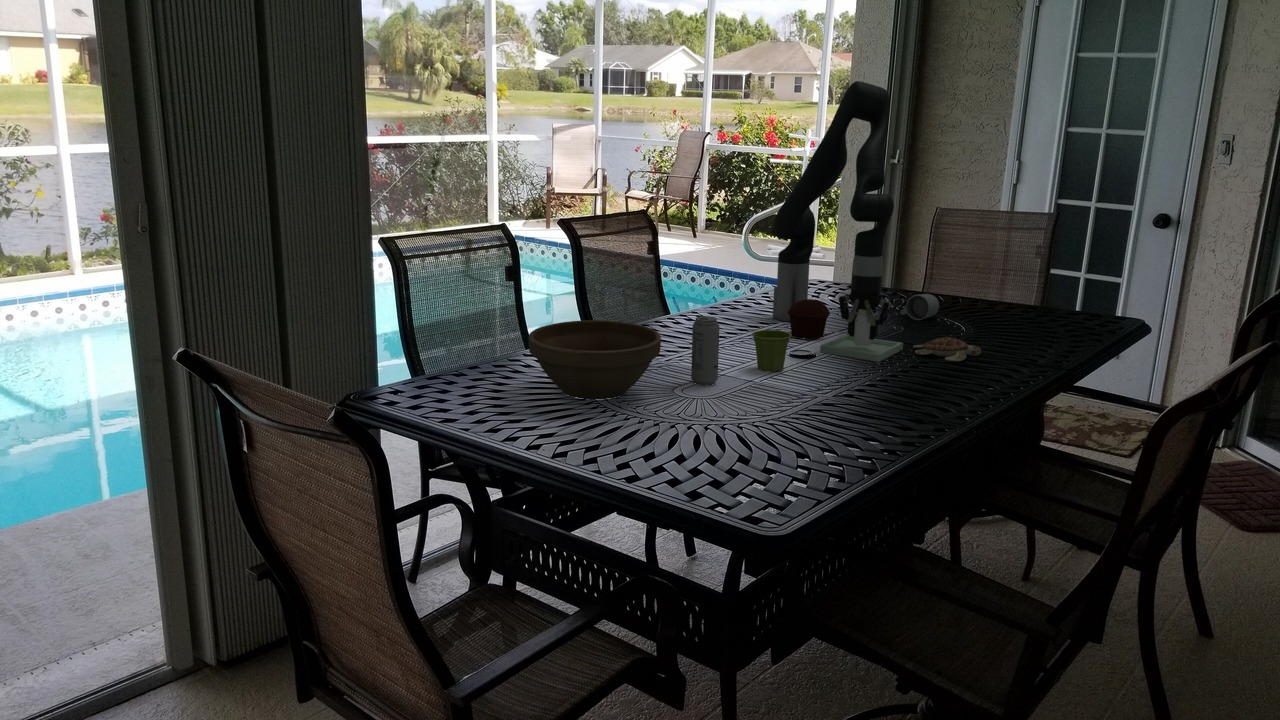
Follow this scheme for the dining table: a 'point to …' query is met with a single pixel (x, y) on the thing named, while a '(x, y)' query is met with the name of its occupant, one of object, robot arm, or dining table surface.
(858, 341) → the pepper shaker
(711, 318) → the energy drink can
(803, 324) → the muffin
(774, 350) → the plant pot
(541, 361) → the flower pot
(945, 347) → the decorative turtle
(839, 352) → the tray
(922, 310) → the ceramic mug
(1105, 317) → the dining table surface
